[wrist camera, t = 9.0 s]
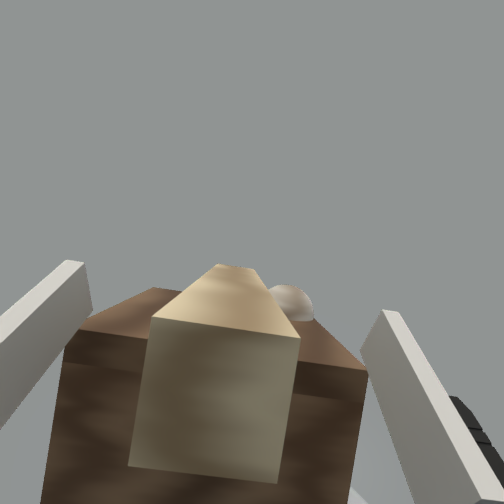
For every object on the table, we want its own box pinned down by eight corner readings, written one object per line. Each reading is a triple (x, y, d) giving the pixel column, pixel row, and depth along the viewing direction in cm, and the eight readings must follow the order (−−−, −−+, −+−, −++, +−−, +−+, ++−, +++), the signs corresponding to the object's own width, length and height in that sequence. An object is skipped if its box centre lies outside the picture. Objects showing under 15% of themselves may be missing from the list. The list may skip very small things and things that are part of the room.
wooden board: (127, 465, 7) (151, 316, 7) (211, 299, 30) (217, 263, 30) (277, 483, 7) (301, 338, 7) (248, 305, 30) (253, 269, 30)
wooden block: (-22, 897, 16) (75, 276, 16) (107, 574, 32) (157, 261, 32) (279, 909, 17) (377, 322, 17) (259, 589, 33) (309, 285, 33)
